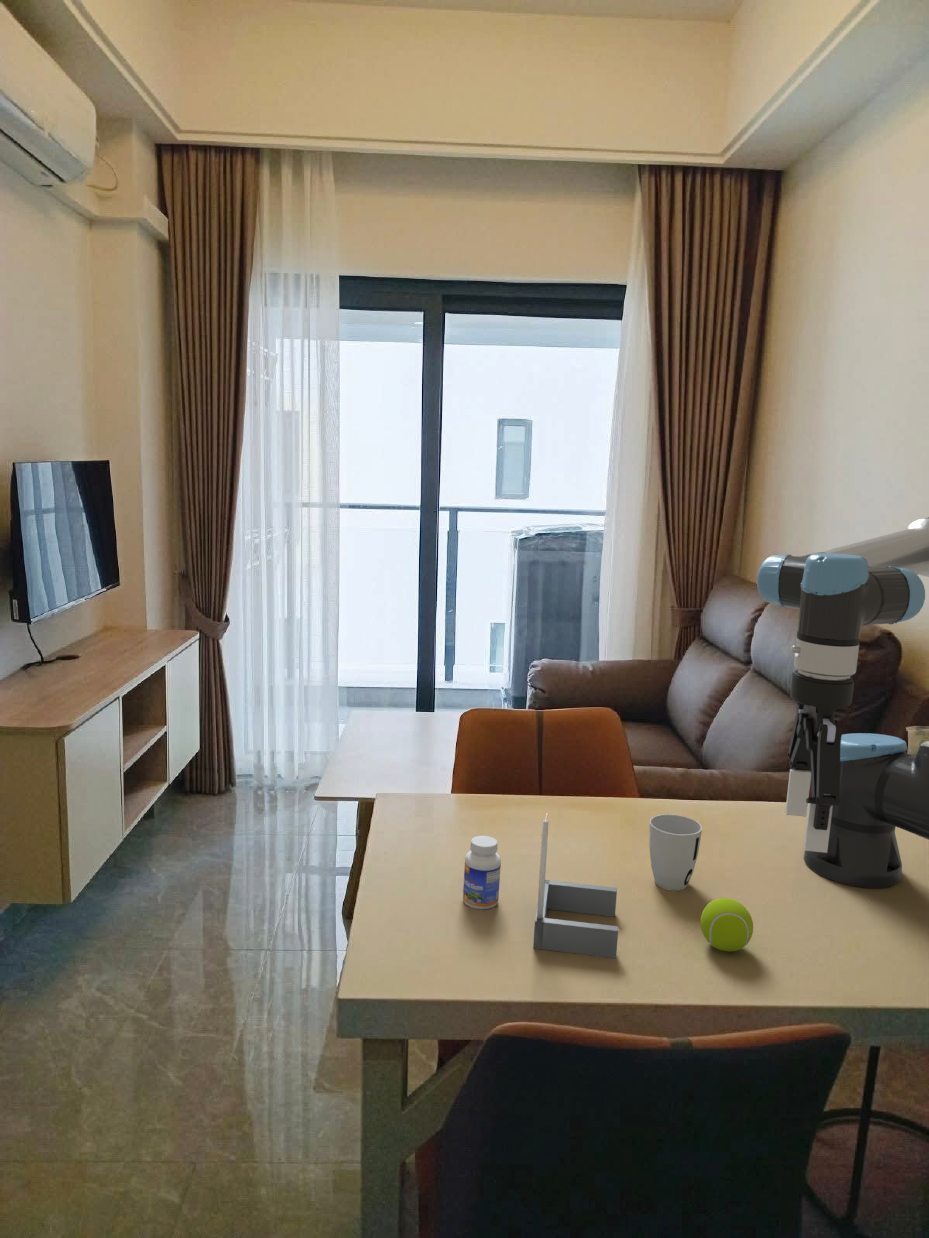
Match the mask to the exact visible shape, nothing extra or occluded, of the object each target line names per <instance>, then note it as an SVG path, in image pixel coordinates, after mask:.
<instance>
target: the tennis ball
mask: <svg viewBox="0 0 929 1238" xmlns="http://www.w3.org/2000/svg"><path fill="white" fill-rule="evenodd" d="M700 916H701V917H700V929H701V931H702V935H703V937H704V938H705V940H706V941H707V942H708V943H709V944H710V945H711V946H712V947H713V948H715V949H717V950H719V951H723V952H736V951H740V950H742V949H743V948H745V947H746V946H747V945H748V944H749V942H750V941H751V939H752V936H753V934H754V922H753V918H752V915H751V913H750V912H749V910H748V909H747V908H746V906H744V905H743V904H742V903H741V902H740V901H738V900H736V899H733V898H729V897H720V898H716V899H714V900H711V901H710V902H709V903H707V904H706V905H705V907H704V909H702V913H701V915H700Z"/></svg>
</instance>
